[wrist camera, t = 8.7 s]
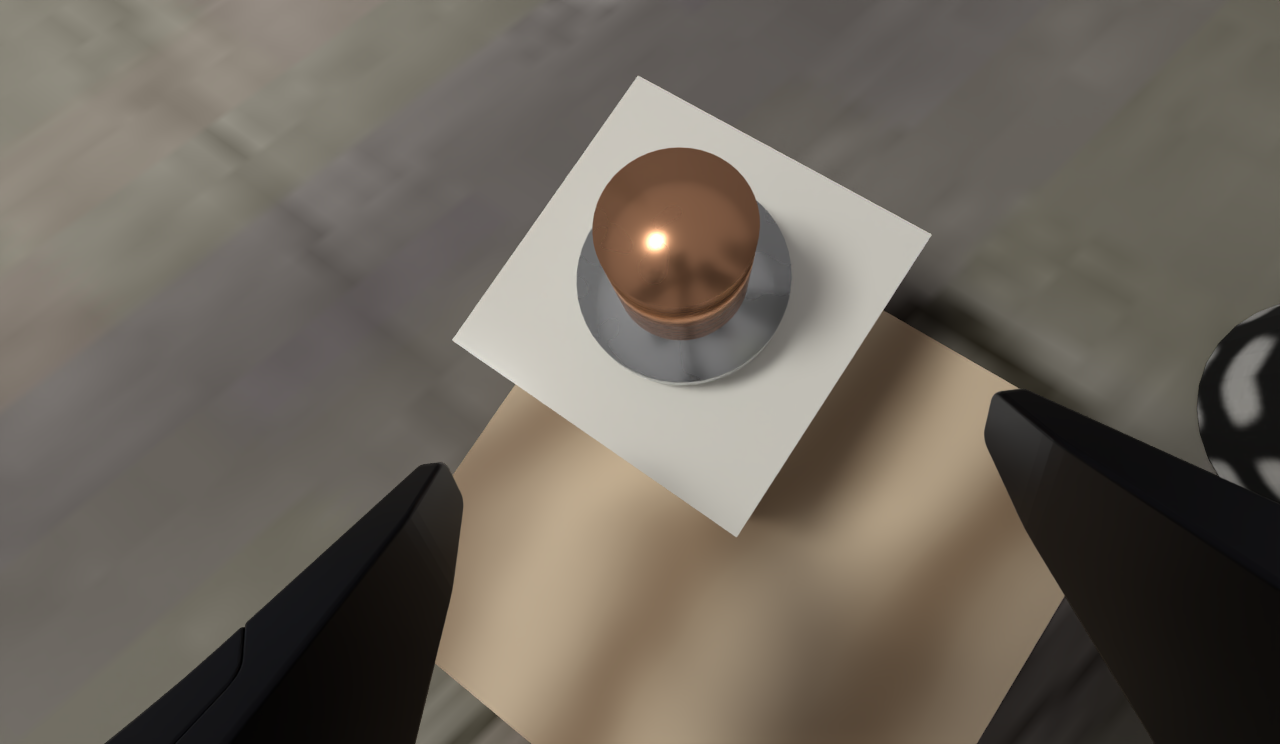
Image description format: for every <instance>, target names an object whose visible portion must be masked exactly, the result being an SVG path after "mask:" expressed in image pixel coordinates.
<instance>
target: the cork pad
mask: <svg viewBox="0 0 1280 744" xmlns="http://www.w3.org/2000/svg"><path fill="white" fill-rule="evenodd" d="M1013 389H1019V388H1017V387H1015V386H1014V385H1012V384H1010V383H1008V382H1007V381H1005V380H1003V379H1002V378H1000V377H998V376H996V375H995V374H993V373H991V372H989V371H988V370H986V369H984V368H982V367H981V366H979V365H977V364H976V363H974V362H972V361H970V360H969V359H967V358H965V357H963V356H962V355H960V354H958V353H956V352H955V351H953V350H951V349H949V348H948V347H946V346H944V345H943V344H941V343H939V342H937V341H936V340H934V339H932V338H930V337H929V336H927V335H925V334H923V333H922V332H920V331H918V330H917V329H915V328H913V327H911V326H910V325H908V324H906V323H904V322H903V321H901V320H899V319H897V318H896V317H894V316H892V315H891V314H889V313H887V312H885V311H884V310H883V311H882V313H881V314H880V316H879V317H878V319H877V320H876V322H875V324H874V325H873V327H872V328H871V330H870V331H869V333H868V334H867V336H866V338H865V339H864V341H863V342H862V344H861V345H860V347H859V348H858V350H857V351H856V353H855V355H854V356H853V358H852V359H851V361H850V362H849V364H848V365H847V367H846V369H845V370H844V372H843V373H842V375H841V376H840V378H839V379H838V381H837V383H836V384H835V386H834V387H833V389H832V390H831V392H830V393H829V395H828V396H827V398H826V400H825V401H824V403H823V404H822V406H821V407H820V409H819V410H818V412H817V414H816V415H815V417H814V418H813V420H812V421H811V423H810V424H809V426H808V428H807V429H806V431H805V432H804V434H803V435H802V437H801V438H800V440H799V441H798V443H797V445H796V446H795V448H794V449H793V451H792V452H791V454H790V455H789V457H788V459H787V460H786V462H785V463H784V465H783V466H782V468H781V469H780V471H779V473H778V474H777V476H776V477H775V479H774V480H773V482H772V483H771V485H770V486H769V488H768V490H767V491H766V493H765V494H764V496H763V497H762V499H761V500H760V502H759V504H758V505H757V507H756V508H755V510H754V511H753V513H752V514H751V516H750V518H749V519H748V521H747V522H746V524H745V525H744V527H743V528H742V530H741V531H740V533H739V535H738V536H737V537H735V536H734V535H732V534H731V533H729V532H728V531H727V530H725V529H724V528H722V527H721V526H719V525H718V524H716V523H715V522H714V521H712V520H711V519H709V518H708V517H706V516H705V515H703V514H702V513H701V512H699V511H698V510H696V509H695V508H693V507H692V506H690V505H689V504H688V503H686V502H685V501H683V500H682V499H680V498H679V497H678V496H676V495H675V494H673V493H672V492H670V491H669V490H667V489H666V488H665V487H663V486H662V485H660V484H659V483H657V482H656V481H654V480H653V479H652V478H650V477H649V476H647V475H646V474H644V473H643V472H641V471H640V470H639V469H637V468H636V467H634V466H633V465H631V464H630V463H628V462H627V461H626V460H624V459H623V458H621V457H620V456H618V455H617V454H615V453H614V452H613V451H611V450H610V449H608V448H607V447H605V446H604V445H603V444H601V443H600V442H598V441H597V440H595V439H594V438H592V437H591V436H590V435H588V434H587V433H585V432H584V431H582V430H581V429H579V428H578V427H577V426H575V425H574V424H572V423H571V422H569V421H568V420H566V419H565V418H564V417H562V416H561V415H559V414H558V413H556V412H555V411H553V410H552V409H551V408H549V407H548V406H546V405H545V404H543V403H542V402H540V401H539V400H538V399H536V398H535V397H533V396H532V395H530V394H529V393H527V392H526V391H525V390H523V389H522V388H520V387H519V386H517V385H516V384H515V386H514V387H513V389H512V390H511V392H510V393H509V394H508V396H507V397H506V399H505V400H504V402H503V403H502V405H501V406H500V408H499V409H498V410H497V412H496V413H495V415H494V416H493V418H492V419H491V421H490V422H489V423H488V425H487V426H486V428H485V429H484V431H483V432H482V434H481V435H480V437H479V438H478V439H477V441H476V442H475V444H474V445H473V447H472V448H471V450H470V451H469V453H468V454H467V455H466V457H465V458H464V460H463V461H462V463H461V464H460V466H459V467H458V468H457V470H456V471H455V473H454V474H453V477H454V480H455V482H456V484H457V486H458V488H459V490H460V492H461V494H462V497H463V505H464V507H463V516H462V524H461V531H460V539H459V547H458V555H457V562H456V570H455V578H454V584H453V590H452V595H451V599H450V604H449V608H448V612H447V616H446V620H445V624H444V628H443V632H442V636H441V640H440V645H439V649H438V653H437V657H436V661H435V664H437V665H438V666H439V667H440V668H441V669H443V670H444V671H445V672H446V673H447V674H449V675H450V676H451V677H452V678H453V679H455V680H456V681H457V682H458V683H459V684H461V685H462V686H463V687H464V688H465V689H467V690H468V691H469V692H470V693H471V694H473V695H474V696H475V697H476V698H477V699H479V700H480V701H481V702H482V703H483V704H485V705H486V706H487V707H488V708H489V709H491V710H492V711H493V712H494V713H495V714H497V715H498V716H499V717H500V718H501V719H503V720H504V721H505V722H506V723H507V724H509V725H510V726H511V727H512V728H513V729H515V730H516V731H517V732H518V733H519V734H521V735H522V736H523V737H524V738H525V739H527V740H528V741H529V742H530V743H531V744H977V743H978V741H979V739H980V738H981V736H982V734H983V732H984V731H985V729H986V727H987V726H988V724H989V722H990V721H991V719H992V717H993V716H994V714H995V712H996V711H997V709H998V707H999V706H1000V704H1001V702H1002V701H1003V699H1004V697H1005V695H1006V694H1007V692H1008V690H1009V689H1010V687H1011V685H1012V684H1013V682H1014V680H1015V679H1016V677H1017V675H1018V674H1019V672H1020V670H1021V669H1022V667H1023V665H1024V664H1025V662H1026V660H1027V658H1028V657H1029V655H1030V653H1031V652H1032V650H1033V648H1034V647H1035V645H1036V643H1037V642H1038V640H1039V638H1040V637H1041V635H1042V633H1043V632H1044V630H1045V628H1046V627H1047V625H1048V623H1049V621H1050V620H1051V618H1052V616H1053V615H1054V613H1055V611H1056V610H1057V608H1058V606H1059V605H1060V603H1061V601H1062V600H1063V598H1064V596H1065V595H1064V594H1063V592H1062V590H1061V589H1060V587H1059V585H1058V584H1057V582H1056V581H1055V579H1054V577H1053V576H1052V574H1051V572H1050V571H1049V569H1048V567H1047V566H1046V564H1045V562H1044V561H1043V559H1042V557H1041V556H1040V554H1039V552H1038V551H1037V549H1036V548H1035V546H1034V544H1033V543H1032V541H1031V539H1030V537H1029V536H1028V534H1027V532H1026V530H1025V528H1024V526H1023V524H1022V522H1021V520H1020V518H1019V516H1018V514H1017V512H1016V510H1015V508H1014V506H1013V503H1012V501H1011V499H1010V497H1009V495H1008V492H1007V490H1006V488H1005V486H1004V484H1003V482H1002V479H1001V477H1000V475H999V473H998V471H997V468H996V466H995V464H994V462H993V460H992V457H991V455H990V453H989V451H988V449H987V446H986V444H985V439H984V429H985V425H986V420H987V416H988V411H989V407H990V403H991V399H992V397H993V395H994V394H995V393H997V392H999V391H1005V390H1013Z"/></svg>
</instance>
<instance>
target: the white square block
mask: <svg viewBox="0 0 1280 744" xmlns="http://www.w3.org/2000/svg"><path fill="white" fill-rule="evenodd" d="M677 147H682V148H693V149H698V150H702V151H706V152H709V153H712V154H714V155H716V156H718V157H720V158H722V159H723V160H725V161H726V162H728V163H730V164H731V165H732V166H733V167H734V168H735V169H737V170H738V171H739V173H740V174H741V175H742V176H743V177H744V178H745V180H746V181H747V183H748V184H749V186H750V187H751V189H752V191H753V193H754V196H755V198H756V201H758V202H759V203H760V204H761V205H762V206H763V207H764V208H765V209H766V210H767V211H768V213H769V214H770V215H771V216H772V218H773V219H774V221H775V222H776V224H777V225H778V226H779V228H780V231H781V233H782V235H783V237H784V239H785V242H786V245H787V248H788V251H789V256H790V261H791V273H792V281H791V291H790V296H789V300H788V304H787V308H786V310H785V313H784V315H783V318H782V320H781V322H780V324H779V326H778V328H777V330H776V331H775V333H774V335H773V337H772V338H771V340H770V341H769V342H768V344H767V345H766V346H765V347H764V349H763V350H762V351H761V352H760V353H759V354H758V355H757V356H756V357H755V358H754V359H753V360H751V361H750V362H749V363H747V364H746V365H745V366H744V367H742V368H740V369H739V370H737V371H735V372H733V373H732V374H730V375H727V376H725V377H723V378H720V379H718V380H714V381H711V382H707V383H703V384H695V385H669V384H662V383H658V382H654V381H650V380H648V379H645V378H643V377H640V376H638V375H636V374H634V373H632V372H630V371H629V370H627V369H625V368H624V367H622V366H621V365H620V364H618V363H617V362H616V361H615V360H613V359H612V358H611V357H610V356H609V355H608V354H607V353H606V352H605V350H604V349H603V348H602V347H601V346H600V345H599V343H598V342H597V341H596V339H595V338H594V337H593V335H592V334H591V332H590V330H589V328H588V327H587V325H586V323H585V320H584V318H583V315H582V313H581V309H580V305H579V301H578V295H577V286H576V283H577V268H578V261H579V257H580V254H581V250H582V247H583V245H584V242H585V240H586V238H587V235H588V234H589V232H590V230H591V229H592V225H593V217H594V212H595V209H596V205H597V202H598V200H599V198H600V196H601V193H602V192H603V190H604V189H605V187H606V185H607V184H608V183H609V181H610V180H611V179H612V178H613V176H614V175H615V174H616V173H617V172H619V171H620V170H621V169H622V168H623V167H624V166H626V165H627V164H628V163H630V162H631V161H633V160H635V159H636V158H638V157H640V156H643V155H645V154H647V153H650V152H653V151H656V150H660V149H666V148H677ZM931 235H932V234H930V233H928V232H926V231H924V230H922V229H921V228H919V227H917V226H915V225H913V224H911V223H909V222H908V221H906V220H904V219H902V218H900V217H898V216H897V215H895V214H893V213H891V212H889V211H887V210H885V209H884V208H882V207H880V206H878V205H876V204H874V203H872V202H871V201H869V200H867V199H865V198H863V197H861V196H860V195H858V194H856V193H854V192H852V191H850V190H848V189H847V188H845V187H843V186H841V185H839V184H837V183H836V182H834V181H832V180H830V179H828V178H826V177H824V176H823V175H821V174H819V173H817V172H815V171H813V170H811V169H810V168H808V167H806V166H804V165H802V164H800V163H799V162H797V161H795V160H793V159H791V158H789V157H787V156H786V155H784V154H782V153H780V152H778V151H776V150H774V149H773V148H771V147H769V146H767V145H765V144H763V143H762V142H760V141H758V140H756V139H754V138H752V137H750V136H749V135H747V134H745V133H743V132H741V131H739V130H737V129H736V128H734V127H732V126H730V125H728V124H726V123H725V122H723V121H721V120H719V119H717V118H715V117H713V116H712V115H710V114H708V113H706V112H704V111H702V110H700V109H699V108H697V107H695V106H693V105H691V104H689V103H688V102H686V101H684V100H682V99H680V98H678V97H676V96H675V95H673V94H671V93H669V92H667V91H665V90H663V89H662V88H660V87H658V86H656V85H654V84H652V83H651V82H649V81H647V80H645V79H643V78H641V77H639V76H637V78H636V79H635V81H634V82H633V84H632V85H631V86H630V88H629V89H628V91H627V92H626V94H625V95H624V96H623V98H622V99H621V101H620V102H619V103H618V105H617V106H616V108H615V109H614V111H613V112H612V113H611V115H610V116H609V118H608V119H607V121H606V122H605V123H604V125H603V126H602V128H601V129H600V131H599V132H598V133H597V135H596V136H595V138H594V139H593V140H592V142H591V143H590V145H589V146H588V148H587V149H586V150H585V152H584V153H583V155H582V156H581V158H580V159H579V160H578V162H577V163H576V165H575V166H574V168H573V169H572V170H571V172H570V173H569V175H568V176H567V177H566V179H565V180H564V182H563V183H562V185H561V186H560V187H559V189H558V190H557V192H556V193H555V195H554V196H553V197H552V199H551V200H550V202H549V203H548V205H547V206H546V207H545V209H544V210H543V212H542V213H541V214H540V216H539V217H538V219H537V220H536V222H535V223H534V224H533V226H532V227H531V229H530V230H529V232H528V233H527V234H526V236H525V237H524V239H523V240H522V241H521V243H520V244H519V246H518V247H517V249H516V250H515V251H514V253H513V254H512V256H511V257H510V259H509V260H508V261H507V263H506V264H505V266H504V267H503V269H502V270H501V271H500V273H499V274H498V276H497V277H496V278H495V280H494V281H493V283H492V284H491V286H490V287H489V288H488V290H487V291H486V293H485V294H484V296H483V297H482V298H481V300H480V301H479V303H478V304H477V306H476V307H475V308H474V310H473V311H472V313H471V314H470V315H469V317H468V318H467V320H466V321H465V323H464V324H463V325H462V327H461V328H460V330H459V331H458V333H457V334H456V335H455V337H454V338H453V340H452V341H454V342H455V343H457V344H458V345H460V346H461V347H463V348H464V349H465V350H467V351H468V352H470V353H471V354H473V355H474V356H476V357H477V358H478V359H480V360H481V361H483V362H484V363H486V364H487V365H489V366H490V367H491V368H493V369H494V370H496V371H497V372H499V373H500V374H502V375H503V376H504V377H506V378H507V379H509V380H510V381H512V382H513V383H515V384H516V385H517V386H519V387H520V388H522V389H523V390H525V391H526V392H527V393H529V394H530V395H532V396H533V397H535V398H536V399H538V400H539V401H540V402H542V403H543V404H545V405H546V406H548V407H549V408H551V409H552V410H553V411H555V412H556V413H558V414H559V415H561V416H562V417H564V418H565V419H566V420H568V421H569V422H571V423H572V424H574V425H575V426H577V427H578V428H579V429H581V430H582V431H584V432H585V433H587V434H588V435H590V436H591V437H592V438H594V439H595V440H597V441H598V442H600V443H601V444H603V445H604V446H605V447H607V448H608V449H610V450H611V451H613V452H614V453H615V454H617V455H618V456H620V457H621V458H623V459H624V460H626V461H627V462H628V463H630V464H631V465H633V466H634V467H636V468H637V469H639V470H640V471H641V472H643V473H644V474H646V475H647V476H649V477H650V478H652V479H653V480H654V481H656V482H657V483H659V484H660V485H662V486H663V487H665V488H666V489H667V490H669V491H670V492H672V493H673V494H675V495H676V496H678V497H679V498H680V499H682V500H683V501H685V502H686V503H688V504H689V505H690V506H692V507H693V508H695V509H696V510H698V511H699V512H701V513H702V514H703V515H705V516H706V517H708V518H709V519H711V520H712V521H714V522H715V523H716V524H718V525H719V526H721V527H722V528H724V529H725V530H727V531H728V532H729V533H731V534H732V535H734V536H735V537H737V536H738V535H739V533H740V531H741V530H742V528H743V527H744V525H745V524H746V522H747V521H748V519H749V518H750V516H751V514H752V513H753V511H754V510H755V508H756V507H757V505H758V504H759V502H760V500H761V499H762V497H763V496H764V494H765V493H766V491H767V490H768V488H769V486H770V485H771V483H772V482H773V480H774V479H775V477H776V476H777V474H778V473H779V471H780V469H781V468H782V466H783V465H784V463H785V462H786V460H787V459H788V457H789V455H790V454H791V452H792V451H793V449H794V448H795V446H796V445H797V443H798V441H799V440H800V438H801V437H802V435H803V434H804V432H805V431H806V429H807V428H808V426H809V424H810V423H811V421H812V420H813V418H814V417H815V415H816V414H817V412H818V410H819V409H820V407H821V406H822V404H823V403H824V401H825V400H826V398H827V396H828V395H829V393H830V392H831V390H832V389H833V387H834V386H835V384H836V383H837V381H838V379H839V378H840V376H841V375H842V373H843V372H844V370H845V369H846V367H847V365H848V364H849V362H850V361H851V359H852V358H853V356H854V355H855V353H856V351H857V350H858V348H859V347H860V345H861V344H862V342H863V341H864V339H865V338H866V336H867V334H868V333H869V331H870V330H871V328H872V327H873V325H874V324H875V322H876V320H877V319H878V317H879V316H880V314H881V313H882V311H883V310H884V308H885V306H886V305H887V303H888V302H889V300H890V299H891V297H892V296H893V294H894V293H895V291H896V289H897V288H898V286H899V285H900V283H901V282H902V280H903V279H904V277H905V275H906V274H907V272H908V271H909V269H910V268H911V266H912V265H913V263H914V262H915V260H916V258H917V257H918V255H919V254H920V252H921V251H922V249H923V248H924V246H925V244H926V243H927V241H928V240H929V238H930V237H931Z"/></svg>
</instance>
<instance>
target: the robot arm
mask: <svg viewBox="0 0 1280 744" xmlns="http://www.w3.org/2000/svg"><path fill="white" fill-rule="evenodd" d="M984 439H985V444H986V446H987V449H988V451H989V453H990V455H991V457H992V460H993V462H994V464H995V466H996V468H997V471H998V473H999V475H1000V477H1001V479H1002V482H1003V484H1004V486H1005V488H1006V490H1007V492H1008V495H1009V497H1010V499H1011V501H1012V503H1013V506H1014V508H1015V510H1016V512H1017V514H1018V516H1019V518H1020V520H1021V522H1022V524H1023V526H1024V528H1025V530H1026V532H1027V534H1028V536H1029V537H1030V539H1031V541H1032V543H1033V544H1034V546H1035V548H1036V549H1037V551H1038V552H1039V554H1040V556H1041V557H1042V559H1043V561H1044V562H1045V564H1046V566H1047V567H1048V569H1049V571H1050V572H1051V574H1052V576H1053V577H1054V579H1055V581H1056V582H1057V584H1058V585H1059V587H1060V589H1061V590H1062V592H1063V594H1064V595H1065V597H1066V599H1067V600H1068V602H1069V604H1070V605H1071V607H1072V609H1073V610H1074V612H1075V614H1076V615H1077V617H1078V618H1079V620H1080V622H1081V623H1082V625H1083V627H1084V628H1085V630H1086V632H1087V633H1088V635H1089V637H1090V638H1091V640H1092V642H1093V643H1094V645H1095V647H1096V648H1097V650H1098V652H1099V653H1100V655H1101V656H1102V658H1103V660H1104V661H1105V663H1106V665H1107V666H1108V668H1109V670H1110V671H1111V673H1112V675H1113V676H1114V678H1115V680H1116V681H1117V683H1118V685H1119V686H1120V688H1121V689H1122V691H1123V693H1124V694H1125V696H1126V698H1127V699H1128V701H1129V703H1130V704H1131V706H1132V708H1133V709H1134V711H1135V713H1136V714H1137V716H1138V718H1139V719H1140V721H1141V722H1142V724H1143V726H1144V727H1145V729H1146V731H1147V732H1148V734H1149V736H1150V737H1151V739H1152V741H1153V742H1154V744H1280V504H1279V503H1277V502H1274V501H1272V500H1270V499H1268V498H1266V497H1263V496H1261V495H1259V494H1257V493H1254V492H1252V491H1250V490H1248V489H1246V488H1243V487H1241V486H1239V485H1237V484H1235V483H1232V482H1230V481H1228V480H1226V479H1224V478H1221V477H1219V476H1217V475H1215V474H1212V473H1210V472H1208V471H1206V470H1204V469H1201V468H1199V467H1197V466H1195V465H1193V464H1190V463H1188V462H1186V461H1184V460H1181V459H1179V458H1177V457H1175V456H1173V455H1170V454H1168V453H1166V452H1164V451H1162V450H1159V449H1157V448H1155V447H1153V446H1150V445H1148V444H1146V443H1144V442H1142V441H1139V440H1137V439H1135V438H1133V437H1131V436H1128V435H1126V434H1124V433H1122V432H1120V431H1117V430H1115V429H1113V428H1111V427H1108V426H1106V425H1104V424H1102V423H1100V422H1097V421H1095V420H1093V419H1091V418H1089V417H1086V416H1084V415H1082V414H1080V413H1077V412H1075V411H1073V410H1071V409H1069V408H1066V407H1064V406H1062V405H1060V404H1058V403H1055V402H1053V401H1051V400H1049V399H1046V398H1044V397H1042V396H1040V395H1038V394H1035V393H1033V392H1031V391H1029V390H1026V389H1013V390H1005V391H999V392H997V393H995V394H994V395H993V397H992V399H991V403H990V407H989V411H988V416H987V420H986V425H985V429H984ZM463 507H464V505H463V497H462V494H461V492H460V490H459V488H458V486H457V484H456V482H455V480H454V477H453V475H452V473H451V471H450V469H449V468H448V466H447V465H446V464H445V463H442V462H438V463H430V464H423V465H420V466H419V467H417V468H416V469H415V470H414V471H413V472H412V473H411V474H410V475H408V476H407V477H406V478H405V479H404V480H403V481H402V482H401V483H400V484H399V485H397V486H396V487H395V488H394V489H393V490H392V491H391V492H390V493H389V494H388V495H386V496H385V497H384V498H383V499H382V500H381V501H380V502H379V503H378V504H377V505H375V506H374V507H373V508H372V509H371V510H370V511H369V512H368V513H367V514H366V515H364V516H363V517H362V518H361V519H360V520H359V521H358V522H357V523H356V524H355V525H353V526H352V527H351V528H350V529H349V530H348V531H347V532H346V533H345V534H343V535H342V536H341V537H340V538H339V539H338V540H337V541H336V542H335V543H334V544H332V545H331V546H330V547H329V548H328V549H327V550H326V551H325V552H324V553H323V554H321V555H320V556H319V557H318V558H317V559H316V560H315V561H314V562H313V563H312V564H310V565H309V566H308V567H307V568H306V569H305V570H304V571H303V572H302V573H301V574H299V575H298V576H297V577H296V578H295V579H294V580H293V581H292V582H291V583H289V584H288V585H287V586H286V587H285V588H284V589H283V590H282V591H281V592H280V593H278V594H277V595H276V596H275V597H274V598H273V599H272V600H271V601H270V602H269V603H267V604H266V605H265V606H264V607H263V608H262V609H261V610H260V611H259V612H257V613H256V614H255V615H254V616H253V617H252V618H251V619H250V620H249V621H248V622H247V623H246V624H245V627H242V628H240V629H239V630H237V631H236V632H235V633H234V634H233V635H232V636H231V637H230V638H229V639H228V640H227V641H225V642H224V643H223V644H222V645H221V646H220V647H219V648H218V649H217V650H215V651H214V652H213V653H212V654H211V655H210V656H209V657H207V658H206V659H205V660H204V661H203V662H202V663H201V664H200V665H198V666H197V667H196V668H195V669H194V670H193V671H192V672H190V673H189V674H188V675H187V676H186V677H185V678H184V679H182V680H181V681H180V682H179V683H178V684H176V685H175V686H174V687H173V688H172V689H170V690H169V691H168V692H167V693H166V694H164V695H163V696H162V697H161V698H160V699H159V700H157V701H156V702H155V703H154V704H152V705H151V706H150V707H149V708H148V709H146V710H145V711H144V712H143V713H142V714H140V715H139V716H138V717H137V718H135V719H134V720H133V721H132V722H131V723H129V724H128V725H127V726H126V727H124V728H123V729H122V730H121V731H119V732H118V733H117V734H116V735H115V736H113V737H112V738H111V739H110V740H108V741H107V742H106V743H105V744H415V743H416V739H417V735H418V730H419V726H420V722H421V718H422V714H423V710H424V706H425V702H426V698H427V694H428V690H429V685H430V681H431V677H432V673H433V669H434V665H435V661H436V657H437V653H438V649H439V645H440V640H441V636H442V632H443V628H444V624H445V620H446V616H447V612H448V608H449V604H450V599H451V595H452V590H453V584H454V578H455V570H456V562H457V555H458V547H459V539H460V531H461V524H462V516H463Z"/></svg>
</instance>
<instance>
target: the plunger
mask: <svg viewBox="0 0 1280 744" xmlns="http://www.w3.org/2000/svg"><path fill="white" fill-rule="evenodd" d="M791 281H792V273H791V261H790V256H789V251H788V248H787V245H786V242H785V239H784V237H783V235H782V233H781V231H780V228H779V226H778V225H777V224H776V222H775V221H774V219H773V218H772V216H771V215H770V214H769V213H768V211H767V210H766V209H765V208H764V207H763V206H762V205H761V204H760V203H759V202H758V201H756V198H755V196H754V193H753V191H752V189H751V187H750V186H749V184H748V183H747V181H746V180H745V178H744V177H743V176H742V175H741V174H740V173H739V171H738V170H737V169H735V168H734V167H733V166H732V165H731V164H730V163H728V162H726V161H725V160H723V159H722V158H720V157H718V156H716V155H714V154H712V153H709V152H706V151H702V150H698V149H693V148H682V147H677V148H666V149H660V150H656V151H653V152H650V153H647V154H645V155H643V156H640V157H638V158H636V159H635V160H633V161H631V162H630V163H628V164H627V165H626V166H624V167H623V168H622V169H621V170H620V171H619V172H617V173H616V174H615V175H614V176H613V178H612V179H611V180H610V181H609V183H608V184H607V185H606V187H605V189H604V190H603V192H602V193H601V196H600V198H599V200H598V202H597V205H596V209H595V212H594V217H593V225H592V229H591V230H590V232H589V234H588V235H587V238H586V240H585V242H584V245H583V247H582V250H581V254H580V257H579V261H578V268H577V283H576V286H577V295H578V301H579V305H580V309H581V313H582V315H583V318H584V320H585V323H586V325H587V327H588V328H589V330H590V332H591V334H592V335H593V337H594V338H595V339H596V341H597V342H598V343H599V345H600V346H601V347H602V348H603V349H604V350H605V352H606V353H607V354H608V355H609V356H610V357H611V358H612V359H613V360H615V361H616V362H617V363H618V364H620V365H621V366H622V367H624V368H625V369H627V370H629V371H630V372H632V373H634V374H636V375H638V376H640V377H643V378H645V379H648V380H650V381H654V382H658V383H662V384H669V385H695V384H703V383H707V382H711V381H714V380H718V379H720V378H723V377H725V376H727V375H730V374H732V373H733V372H735V371H737V370H739V369H740V368H742V367H744V366H745V365H746V364H747V363H749V362H750V361H751V360H753V359H754V358H755V357H756V356H757V355H758V354H759V353H760V352H761V351H762V350H763V349H764V347H765V346H766V345H767V344H768V342H769V341H770V340H771V338H772V337H773V335H774V333H775V331H776V330H777V328H778V326H779V324H780V322H781V320H782V318H783V315H784V313H785V310H786V308H787V304H788V300H789V296H790V291H791Z"/></svg>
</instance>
